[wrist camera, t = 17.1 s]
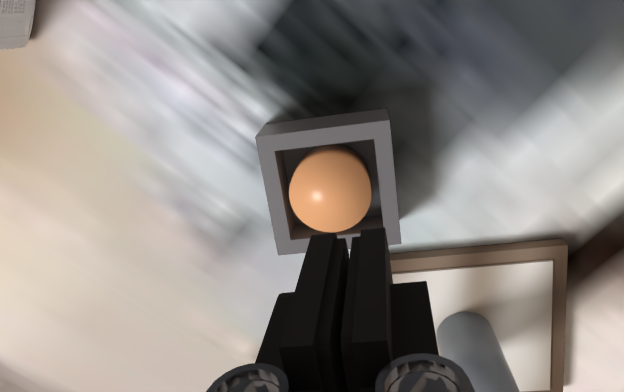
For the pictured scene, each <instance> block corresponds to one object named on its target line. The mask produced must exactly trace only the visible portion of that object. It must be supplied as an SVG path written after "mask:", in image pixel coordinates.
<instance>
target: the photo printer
mask: <svg viewBox="0 0 624 392" xmlns="http://www.w3.org/2000/svg"><path fill="white" fill-rule="evenodd" d="M35 2H36V0H0V50H4V49H14V48H22V47H25V46H26V45H27V43H28V41H29V37H30V34H31V30H32V25H33V17H34V10H35Z"/></svg>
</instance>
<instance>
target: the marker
mask: <svg viewBox="0 0 624 392" xmlns="http://www.w3.org/2000/svg"><path fill="white" fill-rule="evenodd" d="M437 342H438V346H439V350H440V354H441V356H442V357H444V358H447V359H450V360H452V361H453V362H455V363H456V364H457V365H459V366H460V367H461V368H462V369H463V370H464V372H465V373H466V374H467V376H468V377H469V379H470V382H471V384H472V386H473V388H474V390H475V392H520V391H519V389H518V386H517V384H516V382H515V379H514V377H513V375H512V372H511V370H510V368H509V365H508V363H507V361H506V359H505V356H504V354H503V352H502V349H501V347H500V345H499V342H498V340H497V338H496V335H495V333H494V331H493V329H492V326H491V324H490V323H489V321H488V320H487V319H486V318H485V317H483V316H482V315H480V314H478V313H474V312H458V313H455V314H452V315H450V316H448V317H447V318H446V319H444V320H443V321H442V322H441V324H440V325H439V327H438V330H437Z"/></svg>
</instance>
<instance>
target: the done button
mask: <svg viewBox="0 0 624 392" xmlns="http://www.w3.org/2000/svg"><path fill="white" fill-rule="evenodd" d="M289 199H290V203H291V206H292V209H293V211H294V212H295V214H296V215H297V217H298V218H299V219H300V220H301V221H302V222H303V223H305V224H306V225H308V226H309V227H311V228H313V229H315V230H319V231H323V232H339V231H343V230H346V229H349V228H351V227H353V226H354V225H356V224H357V223H358V222H359V221H360V220H361V219H362V218H363V217H364V216H365V214H366V213H367V211H368V209H369V206H370V202H371V180H370V173H369V170H368V167H367V165H366V163H365V161H364V160H363V159H362V158H361V156H360V155H359V154H357V153H356V152H355V151H353V150H352V149H350V148H348V147H345V146H342V145H337V144H328V145H321V146H318V147H316V148H314V149H312V150H310V151H309V152H307V153H306V154H305V155H304V156H303V157H302V158H301V160H300V161H299V163H298V165H297V167H296V169H295V172H294V175H293V177H292V180H291V183H290V187H289Z"/></svg>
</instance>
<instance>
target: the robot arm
mask: <svg viewBox="0 0 624 392" xmlns="http://www.w3.org/2000/svg"><path fill="white" fill-rule="evenodd" d="M206 392H475V390H474V388H473V386H472V384H471V382H470V379H469V377H468V376H467V374H466V373H465V372H464V370H463V369H462V368H461V367H460V366H459V365H457V364H456V363H455V362H453V361H452V360H450V359H447V358H444V357H442V356H439V352H438V346H437V340H436V334H435V328H434V322H433V316H432V310H431V304H430V298H429V292H428V286H427V281H420V282H408V283H396V284H393V278H392V271H391V264H390V256H389V249H388V242H387V235H386V229H385V227H383V228H374V229H364V230H361V234H360V236H358V237H352V242H351V251H350V259H349V253H348V247H347V242H346V239H345V238H339V239H338V238H337V235H336V233H327V234H317V235H311V238H310V241H309V245H308V248H307V251H306V255H305V258H304V262H303V265H302V269H301V272H300V276H299V279H298V283H297V286H296V289H295V292H290V293H281V294H279V296H278V298H277V301H276V304H275V306H274V309H273V312H272V315H271V318H270V321H269V324H268V327H267V330H266V333H265V336H264V339H263V342H262V345H261V347H260V350H259V353H258V356H257V359H256V362H255V363H253V364H247V365H243V366H239V367H236V368H234V369H232V370H230V371H228V372H226V373H224V374H223V375H222V376H221V377H219V378H218V379H217V380H215V381H214V382H213V384H212V385H211V386H210V387H209V389H208V390H207V391H206Z"/></svg>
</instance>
